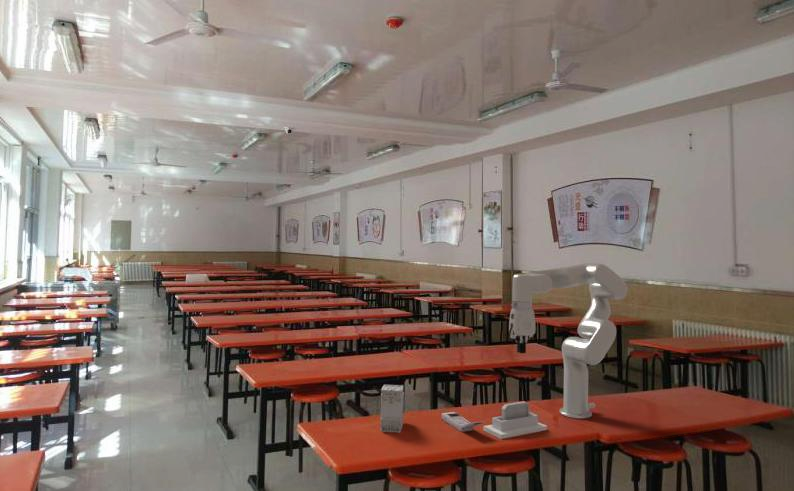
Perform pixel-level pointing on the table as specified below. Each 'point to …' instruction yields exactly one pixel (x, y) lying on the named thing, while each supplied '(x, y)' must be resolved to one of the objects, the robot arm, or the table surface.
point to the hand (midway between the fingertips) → (521, 352)
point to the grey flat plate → (515, 410)
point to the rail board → (514, 426)
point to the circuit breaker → (392, 408)
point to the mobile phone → (459, 421)
